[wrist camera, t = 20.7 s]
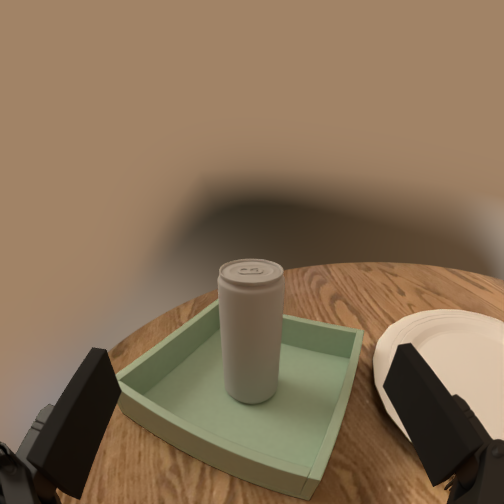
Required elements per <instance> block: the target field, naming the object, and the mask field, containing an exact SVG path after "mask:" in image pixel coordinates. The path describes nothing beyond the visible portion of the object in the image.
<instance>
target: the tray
mask: <svg viewBox="0 0 504 504" xmlns="http://www.w3.org/2000/svg"><path fill="white" fill-rule="evenodd" d="M363 336H364V330H359V329H354V328H349V327H344V326H338V325H333V324H328V323H323V322H318V321H313V320H308V319H303V318H299V317H294V316H289V315H285V314H283V321H282V336H281V349H280V362H279V374H278V385H277V389H276V392H275V393H274V394H273V396H272V397H270V398H269V399H267V400H266V401H263V402H261V403H256V404H248V403H244V402H240V401H238V400H236V399H234V398H233V397H231V396H230V395H229V394H228V393H227V391H226V389H225V383H224V371H223V359H222V346H221V331H220V316H219V299H217V300H216V301H214V302H213V303H212V304H210V305H209V306H208V307H206V308H205V309H204V310H202V311H201V312H200V313H198V314H197V315H196V316H194V317H193V318H192V319H190V320H189V321H188V322H186V323H185V324H184V325H182V326H181V327H180V328H178V329H177V330H176V331H174V332H173V333H172V334H170V335H169V336H168V337H166V338H165V339H164V340H162V341H161V342H160V343H158V344H157V345H155V346H154V347H153V348H151V349H150V350H149V351H147V352H146V353H145V354H143V355H142V356H140V357H139V358H138V359H136V360H135V361H134V362H132V363H131V364H130V365H128V366H127V367H125V368H124V369H123V370H121V371H120V372H119V373H117V374H116V378H117V380H118V383H119V385H120V388H121V390H122V393H121V395H120V397H119V399H118V402H117V403H118V405H119V407H120V409H121V411H122V413H124V414H125V415H126V416H128V417H129V418H131V419H132V420H133V421H135V422H136V423H138V424H139V425H141V426H142V427H144V428H145V429H147V430H148V431H150V432H151V433H153V434H154V435H156V436H158V437H159V438H161V439H162V440H164V441H166V442H167V443H169V444H171V445H173V446H174V447H176V448H178V449H180V450H181V451H183V452H185V453H187V454H189V455H191V456H192V457H194V458H196V459H198V460H200V461H202V462H204V463H206V464H208V465H210V466H213V467H215V468H217V469H219V470H221V471H223V472H226V473H228V474H230V475H233V476H235V477H237V478H240V479H242V480H245V481H248V482H250V483H253V484H256V485H258V486H261V487H264V488H267V489H270V490H273V491H276V492H279V493H282V494H286V495H289V496H293V497H296V498H300V499H304V500H310V498H311V496H312V495H313V493H314V491H315V490H316V488H317V486H318V484H319V483H320V481H321V479H322V476H323V474H324V471H325V469H326V466H327V464H328V461H329V458H330V456H331V453H332V450H333V447H334V444H335V442H336V439H337V436H338V433H339V430H340V427H341V423H342V420H343V417H344V414H345V410H346V407H347V403H348V400H349V396H350V392H351V389H352V385H353V381H354V377H355V373H356V368H357V364H358V360H359V355H360V351H361V346H362V341H363Z"/></svg>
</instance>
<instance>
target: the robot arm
mask: <svg viewBox="0 0 504 504" xmlns="http://www.w3.org/2000/svg"><path fill="white" fill-rule="evenodd" d="M382 387H383V388H384V390H385V392H386V394H387V396H388V398H389V400H390V401H391V403H392V405H393V407H394V409H395V411H396V413H397V415H398V416H399V418H400V420H401V422H402V424H403V426H404V428H405V430H406V432H407V434H408V436H409V438H410V440H411V442H412V444H413V446H414V448H415V450H416V452H417V454H418V456H419V458H420V460H421V462H422V464H423V466H424V468H425V471H426V473H427V475H428V477H429V479H430V481H431V484H432V486H433V487H434V486H436V485H438V484H440V483H442V482H444V481H446V480H448V479H449V478H450V477H451V476H452V475H453V474H454V473H455V474H456V477H455V478H454V479H453V480H452V481H451V482H449V483H448V484H447V485H446V487H445V489H444V490H447V489H448V488H449V487H450V486H452V487H451V488H450V489H449V491H450V495H449V498H448V501H447V504H504V440H501V439H495V440H493V439H492V438H491V436H490V435H489V434H488V432H487V431H486V429H485V428H484V426H483V425H482V423H481V422H480V420H479V419H478V418H477V416H475V413H474V412H473V411H472V409H470V406H469V405H468V404H467V402H466V401H465V400H464V399H463V398H461V397H460V396H459V395H457V394H455V395H451V394H450V393H449V391H448V390H447V389H446V387H445V386H444V385H443V383H442V382H441V381H440V379H439V378H438V377H437V375H436V374H435V373H434V371H433V370H432V369H431V367H430V366H429V365H428V364H427V362H426V361H425V360H424V358H423V357H422V356H421V355H420V353H419V352H418V351H417V350H416V348H415V347H414V346H413V345H412V343H406V344H400V345H398V346H397V349H396V352H395V355H394V358H393V360H392V363H391V366H390V369H389V371H388V374H387V376H386V379H385V381H384V384H383V386H382ZM121 393H122V390H121V388H120V385H119V383H118V380H117V378H116V375H115V373H114V370H113V367H112V365H111V362H110V359H109V356H108V353H107V350H106V349H99V348H92V349H91V350H90V352H89V353H88V355H87V356H86V358H85V359H84V361H83V362H82V364H81V365H80V367H79V368H78V370H77V371H76V373H75V374H74V376H73V377H72V379H71V380H70V382H69V384H68V385H67V387H66V389H65V390H64V392H63V393H62V395H61V396H60V398H59V400H58V401H57V403H56V405H55V406H53V405H51V404H48V405H47V406H46V407H44V408H43V409H42V410H41V411H40V412H39V414H38V416H37V417H36V419H35V420H36V421H34V422H33V424H32V426H31V428H30V429H29V431H28V433H27V434H26V436H25V438H24V440H23V442H22V443H21V445H20V447H19V449H18V451H17V452H16V454H14V453H13V452H12V451H11V450H10V449H9V448H8V447H7V446H6V444H4V443H2V442H0V504H62V503H61V501H60V498H59V496H58V494H57V493H56V489H57V488H58V489H60V490H61V491H62V492H63V493H65V494H67V495H69V496H72V497H74V498H76V499H79V500H80V499H81V496H82V493H83V490H84V487H85V484H86V481H87V478H88V475H89V472H90V470H91V467H92V464H93V461H94V459H95V456H96V453H97V451H98V448H99V446H100V443H101V440H102V438H103V435H104V433H105V430H106V428H107V426H108V423H109V421H110V418H111V416H112V413H113V411H114V409H115V406H116V404H117V402H118V399H119V397H120V395H121Z"/></svg>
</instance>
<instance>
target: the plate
mask: <svg viewBox="0 0 504 504" xmlns="http://www.w3.org/2000/svg"><path fill="white" fill-rule="evenodd" d="M406 343H412V345H413V346H414V347H415V348H416V350H417V351H418V352H419V353H420V355H421V356H422V357H423V358H424V360H425V361H426V362H427V364H428V365H429V366H430V367H431V369H432V370H433V371H434V373H435V374H436V375H437V377H438V378H439V379H440V381H441V382H442V383H443V385H444V386H445V387H446V389H447V390H448V391H449V393H450V394H451V395H455V394H457V395H459V396H460V397H461V398H463V399H464V400H465V401H466V402H467V404H468V405H469V406H470V409H472V411H473V412H474V413H475V416H477V418H478V419H479V420H480V422H481V423H482V425H483V426H484V428H485V429H486V431H487V432H488V434H489V435H490V436H491V438H492V439H493V440H495V439H501V440H504V322H502V321H500V320H498V319H495V318H492V317H489V316H486V315H483V314H480V313H474V312H469V311H463V310H450V309H438V310H429V311H421V312H418V313H415V314H412V315H409V316H406V317H403V318H402V319H400V320H399V321H397V322H395V323H394V324H392V325H391V326H389V327H388V329H387V330H386V331H385V332H384V334H383V335H382V336H381V337H380V339H379V340H378V343H377V346H376V350H375V353H374V356H373V360H372V363H373V373H374V384H375V387H376V390H377V392H378V394H379V397H380V399H381V401H382V403H383V406H384V408H385V411H386V413H387V415H388V416H389V417H390V418H391V420H392V421H393V422H394V423H395V425H396V426H397V427H398V428H399V430H400V431H401V432H402V433H403V435H404V436H405V437H406V438H407V440H408V441H409V442H410V443H411V444H412V442H411V440H410V438H409V436H408V434H407V432H406V430H405V428H404V426H403V424H402V422H401V420H400V418H399V416H398V415H397V413H396V411H395V409H394V407H393V405H392V403H391V401H390V400H389V398H388V396H387V394H386V392H385V390H384V388H383V387H382V386H383V384H384V381H385V379H386V376H387V374H388V371H389V369H390V366H391V363H392V360H393V358H394V355H395V352H396V349H397V346H398V345H400V344H406ZM412 445H413V444H412Z"/></svg>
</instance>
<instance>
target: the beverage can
mask: <svg viewBox="0 0 504 504" xmlns="http://www.w3.org/2000/svg"><path fill="white" fill-rule="evenodd" d="M219 273H220V275H219V277H218V298H219V316H220V331H221V346H222V359H223V371H224V383H225V389H226V391H227V393H228V394H229V395H230V396H231V397H233V398H234V399H236V400H238V401H240V402H244V403H248V404H256V403H261V402H263V401H266V400H267V399H269V398H270V397H272V396H273V394H274V393H275V392H276V389H277V385H278V374H279V362H280V349H281V336H282V321H283V306H284V289H285V279H284V276H283V268H282V267H281V266H280V265H278V264H277V263H274V262H271V261H267V260H261V259H242V260H235V261H231V262H228V263H226V264H224V265H223V266H221V268H220V270H219Z"/></svg>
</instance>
